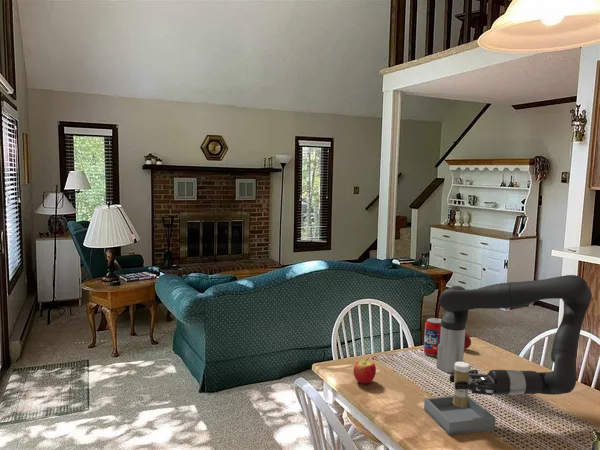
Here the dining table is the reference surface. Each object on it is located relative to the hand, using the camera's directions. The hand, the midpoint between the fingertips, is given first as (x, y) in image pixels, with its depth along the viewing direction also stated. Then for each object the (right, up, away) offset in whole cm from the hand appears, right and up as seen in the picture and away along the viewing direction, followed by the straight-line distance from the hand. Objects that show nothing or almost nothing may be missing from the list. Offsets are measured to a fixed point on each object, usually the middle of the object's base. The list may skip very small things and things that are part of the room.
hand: (452, 382), depth 153 cm
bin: (+2, -12, +2) cm, 13 cm away
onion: (+24, -6, +62) cm, 67 cm away
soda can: (+9, -6, +57) cm, 58 cm away
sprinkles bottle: (+3, -8, +1) cm, 8 cm away
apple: (-24, -9, +27) cm, 38 cm away
